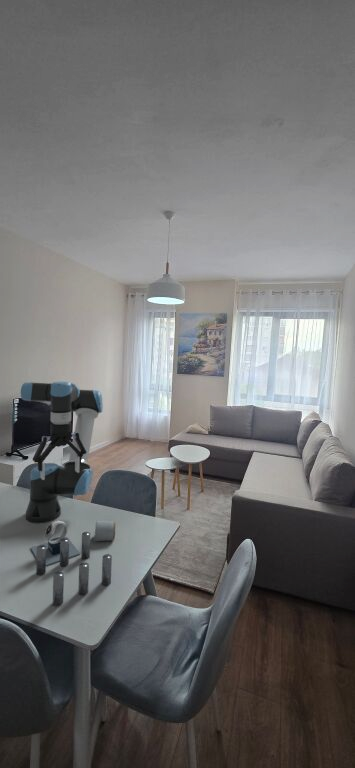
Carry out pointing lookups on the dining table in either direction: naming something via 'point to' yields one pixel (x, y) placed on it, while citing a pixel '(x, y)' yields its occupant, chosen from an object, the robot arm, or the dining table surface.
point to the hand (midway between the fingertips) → (60, 475)
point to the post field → (64, 561)
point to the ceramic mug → (104, 530)
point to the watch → (55, 543)
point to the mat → (56, 558)
